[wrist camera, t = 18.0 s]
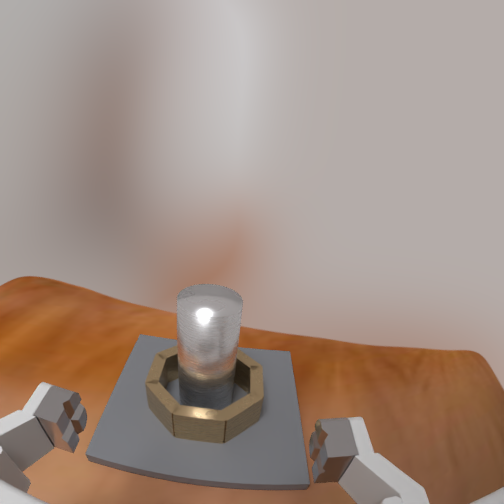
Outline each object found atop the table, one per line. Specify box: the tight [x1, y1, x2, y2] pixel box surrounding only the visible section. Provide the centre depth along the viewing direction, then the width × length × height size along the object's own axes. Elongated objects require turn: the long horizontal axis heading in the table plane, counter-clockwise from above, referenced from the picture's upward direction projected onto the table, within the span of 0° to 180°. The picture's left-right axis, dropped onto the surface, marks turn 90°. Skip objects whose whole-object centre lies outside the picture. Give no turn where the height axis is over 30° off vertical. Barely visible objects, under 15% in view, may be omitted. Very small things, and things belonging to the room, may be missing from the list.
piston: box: [177, 284, 243, 410], centre depth 23 cm, size 4×4×10 cm
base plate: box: [86, 334, 310, 490], centre depth 24 cm, size 16×16×1 cm
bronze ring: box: [145, 345, 264, 444], centre depth 24 cm, size 9×9×3 cm
